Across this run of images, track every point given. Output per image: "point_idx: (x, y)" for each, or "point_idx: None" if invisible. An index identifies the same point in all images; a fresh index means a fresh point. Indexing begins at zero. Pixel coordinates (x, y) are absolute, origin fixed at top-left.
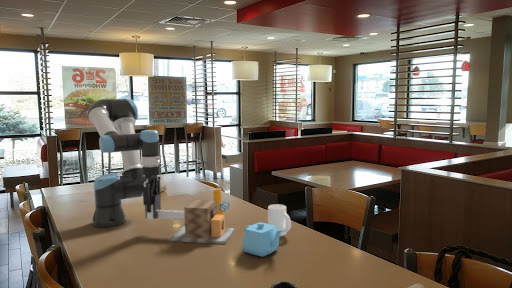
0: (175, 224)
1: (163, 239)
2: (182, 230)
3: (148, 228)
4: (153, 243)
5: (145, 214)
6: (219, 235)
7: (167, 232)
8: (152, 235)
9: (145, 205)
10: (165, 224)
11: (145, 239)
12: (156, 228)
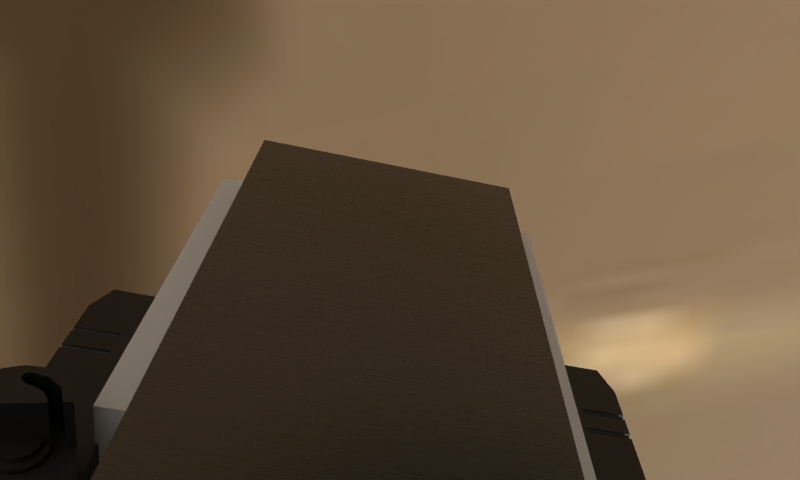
0: (674, 332)
1: (149, 292)
2: None
3: (584, 6)
4: (6, 213)
5: (245, 179)
6: None
7: None
8: (272, 140)
9: (174, 333)
10: (713, 218)
11: (114, 83)
12: (560, 131)
